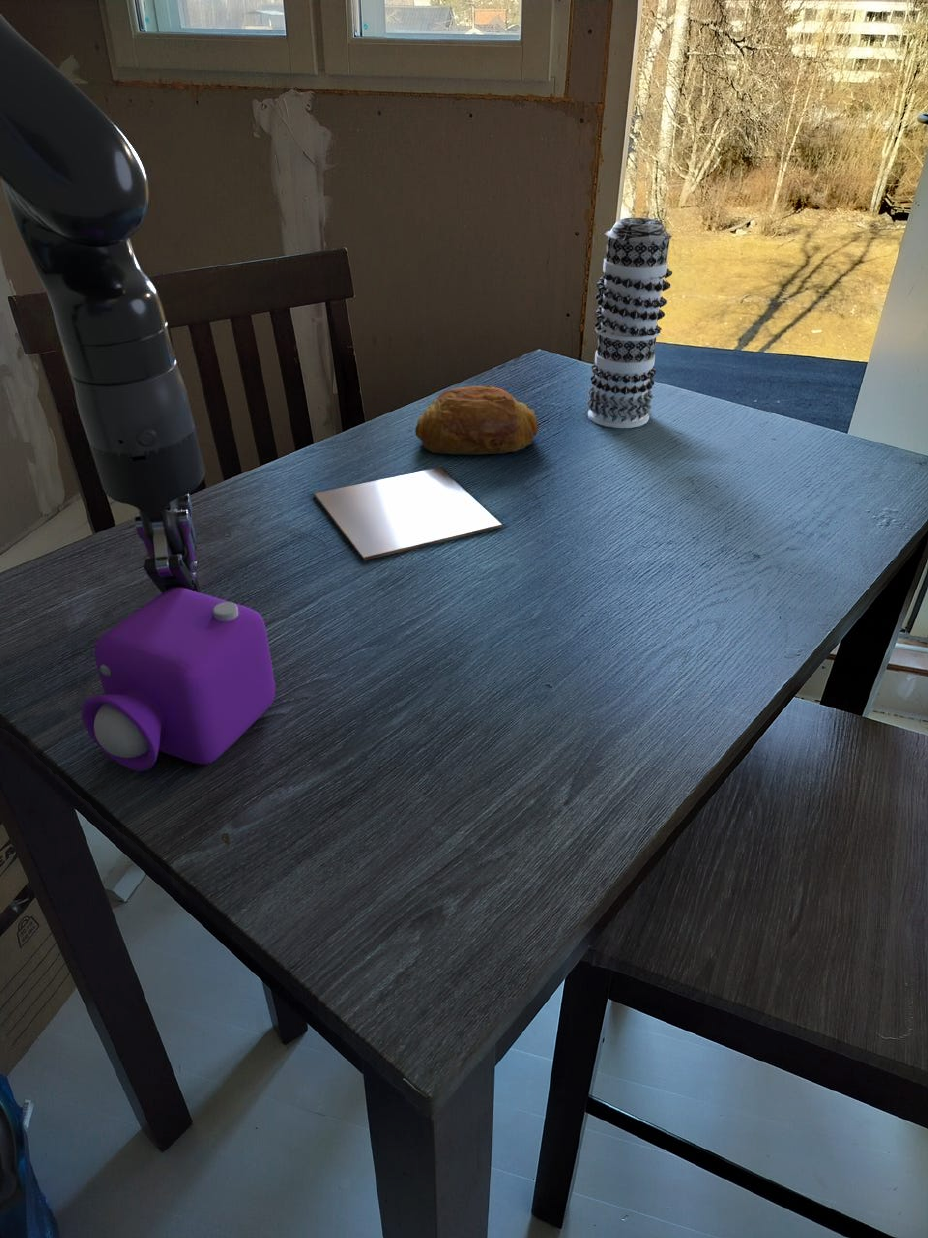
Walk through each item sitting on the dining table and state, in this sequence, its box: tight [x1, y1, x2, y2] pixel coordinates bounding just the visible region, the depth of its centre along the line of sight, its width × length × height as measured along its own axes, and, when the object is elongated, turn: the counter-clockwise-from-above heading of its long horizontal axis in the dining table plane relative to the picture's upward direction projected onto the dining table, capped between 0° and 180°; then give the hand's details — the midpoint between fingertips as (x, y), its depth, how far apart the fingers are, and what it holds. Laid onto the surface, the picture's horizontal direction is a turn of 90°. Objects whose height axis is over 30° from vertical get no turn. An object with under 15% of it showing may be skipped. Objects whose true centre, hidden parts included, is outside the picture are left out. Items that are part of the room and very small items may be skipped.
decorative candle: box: [587, 217, 673, 429], centre depth 111 cm, size 9×9×25 cm
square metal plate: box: [313, 466, 503, 562], centre depth 95 cm, size 16×16×1 cm
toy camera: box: [81, 588, 276, 772], centre depth 63 cm, size 11×14×10 cm
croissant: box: [414, 384, 539, 455], centre depth 110 cm, size 14×16×8 cm
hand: (191, 614), depth 73 cm, fingers closed
